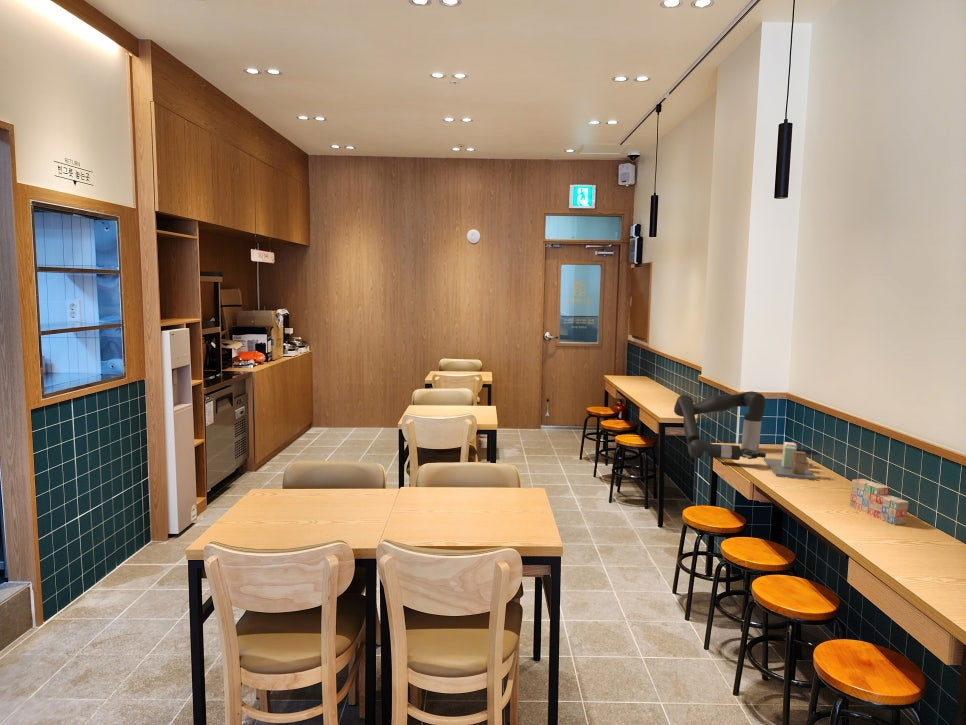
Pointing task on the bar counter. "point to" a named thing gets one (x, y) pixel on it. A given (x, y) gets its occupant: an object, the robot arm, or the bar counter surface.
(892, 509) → the stack of blocks
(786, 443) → the cream block
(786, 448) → the pale green block
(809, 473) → the rail board
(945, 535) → the bar counter surface
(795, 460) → the brown block
